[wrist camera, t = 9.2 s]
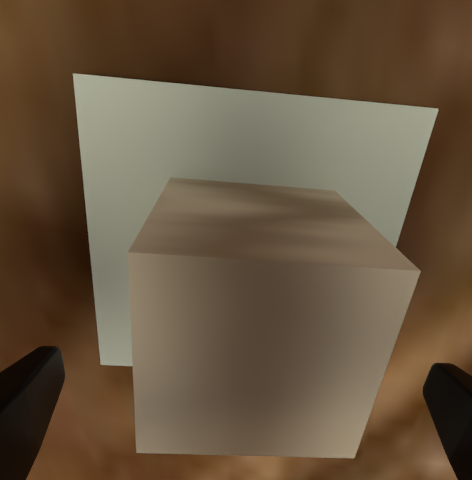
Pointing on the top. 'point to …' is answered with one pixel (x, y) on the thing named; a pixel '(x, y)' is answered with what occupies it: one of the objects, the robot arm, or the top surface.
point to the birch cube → (260, 320)
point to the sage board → (228, 163)
